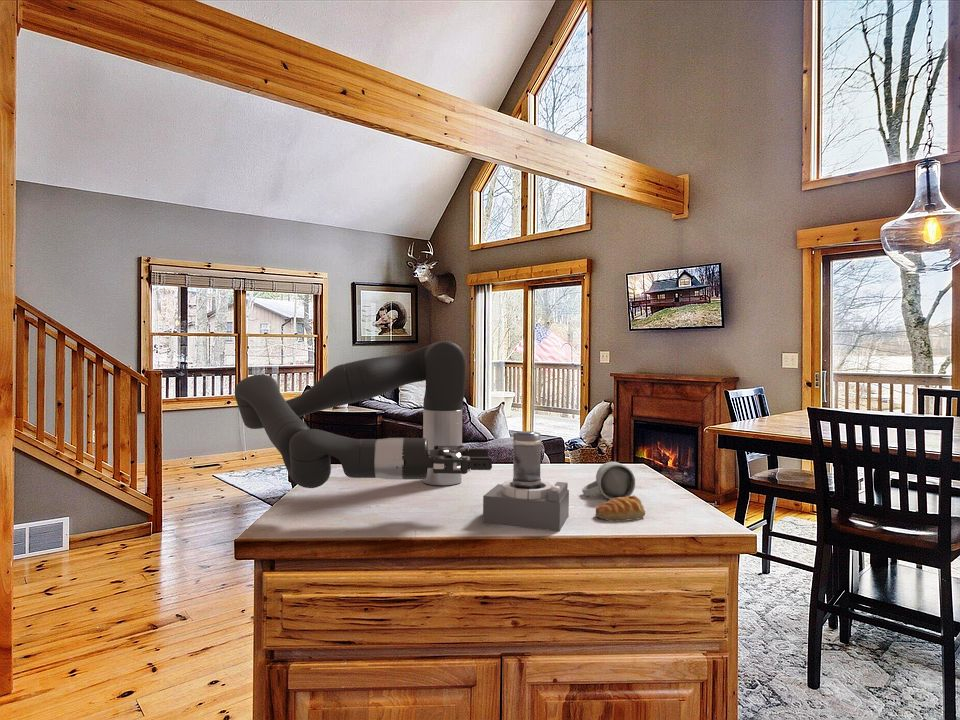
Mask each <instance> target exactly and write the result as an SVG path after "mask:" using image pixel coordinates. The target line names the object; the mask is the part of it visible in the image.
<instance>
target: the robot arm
mask: <svg viewBox="0 0 960 720" xmlns="http://www.w3.org/2000/svg"><path fill="white" fill-rule="evenodd" d="M424 381H425V391H424V395H423V396H424V397H423V409H422V410H423V411H422V412H423V413H422V415H423V417H422V418H423V419H422V420H423V422H422V423H423V425H422V426H423V427H422V428H423V430H422V437H387V438H378V439H377V438H353V437H349V436H343V435H339V434H336V433H334V432H329V431H326V430H322V429H318V428H310V427H309V426H308V425H307V424H306V423H305V422H304V421H303V420H302V419H301V417H303V416H307V415H310V414H313V413H317V412H320V411H324V410H328V409H332V408H336V407H340V406H344V405H350V404H353V403H358V402H361V401H366V400H370V399H373V398H376V397H379V396H381V395H384V394H386V393H389V392H391V391H393V390H395V389H398V388H400V387H402V386H406V385H409V384H413V383H419V382H420V383H421V382H424ZM465 387H466V356H465V353H464V351H463V350H462V348H461V347H460V346H459V345H458V344H457V343H455V342H453V341H445V340H442V341H436V342H432V343H430V344H429V345H425V346H423V347H420V348H417V349H414V350H412V351H409V352H405V353H401V354H395V355H387V356H386V355H385V356H380V357H379V356H378V357H372V358H365V359H359V360H355V361H351V362H347V363H341V364H338V365H335V366H333V367H332V368H331V369H329V370H328V371H327V372H326V373H325V374H324V375H323V376H322V377H321V378H320V379H318V381H317V382H316V383H315V384H313V385H312V386H311V387H310V388H309V389H308V390H306V391H305V392H304V393H302V394H300V395H298V396H296V397H293V398H290V399H287V400H286V399H285V398H284V397H283V395H282V393H281V391H280V389H279V388H280V387H279V386H278V383H277V381H276V379H274V378H273V377H272V376H270V375H267V374H254V375H250V376H248V377H245V378H243V379H242V380H240V381H239V382H238V383H237V384H236V386H235V387H234V398H235V401H236V404H237V407H238V411H239V413H240V417H241V419H242V422H243V424H244V426H245V427H246V428H248V429H251V430H259V429H264V431H265V434H266V435H267V437H268V439H269V441H270V442H271V444H273V446H274V447H275V448H276V450H277V451H278V452H279V453H280V455H281V457H282V461H283V464H284V466H285V468H286V471H287V473H288V475H289V477H290V479H291V481H293V483H295V484H297V486H300V487H301V488H305V489H316V488H319V487H322V486H323V485H324V484H325V483H326V482H327V481H328V480H329V478H330V476H331V474H332V465H331V463H332V462H331V457H333V458H335V459H338V461H339V462H340V464H341V466H342V470H343V473H344V475H345V476H346V477H348V478H352V479H367V478H368V479H375V478H376V479H383V480H422V483H423V484H427V485H430V486H431V485H432V486H451V485H457V484H460V483H462V475H466V474H468V473H469V472H471V471H491V470H492V468H493V459H492V457H490V456H489V451H488V449H487V448H469V447H467V446H465V445H463V403H464V398H465V393H466V390H465V389H466V388H465Z"/></svg>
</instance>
